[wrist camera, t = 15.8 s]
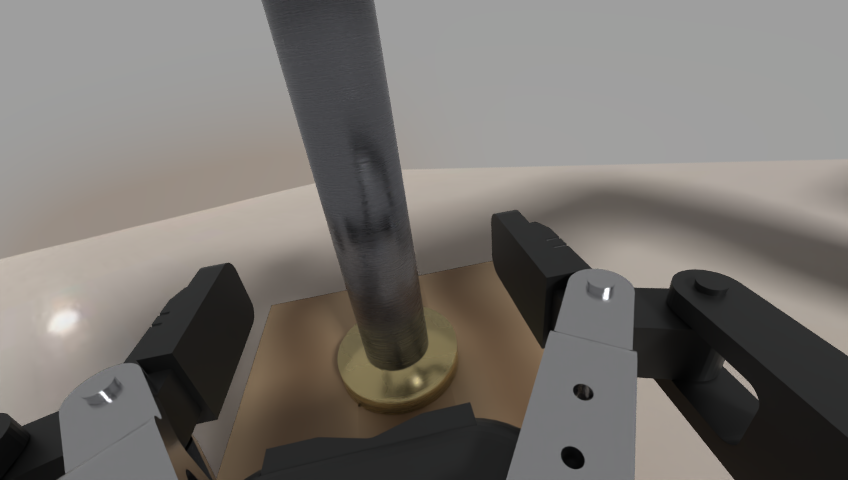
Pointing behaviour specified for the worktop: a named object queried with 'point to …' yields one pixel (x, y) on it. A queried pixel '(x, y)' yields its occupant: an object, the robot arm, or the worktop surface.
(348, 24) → the steel pin
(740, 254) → the worktop surface
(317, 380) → the wooden base block
